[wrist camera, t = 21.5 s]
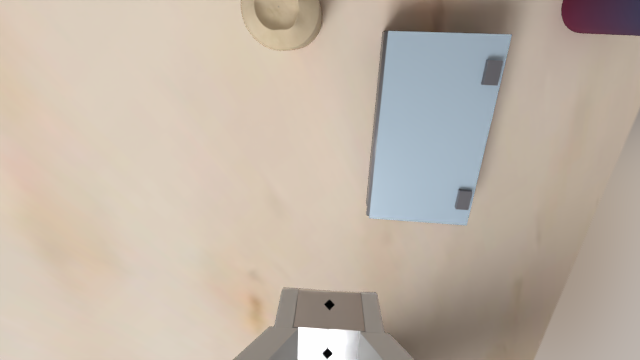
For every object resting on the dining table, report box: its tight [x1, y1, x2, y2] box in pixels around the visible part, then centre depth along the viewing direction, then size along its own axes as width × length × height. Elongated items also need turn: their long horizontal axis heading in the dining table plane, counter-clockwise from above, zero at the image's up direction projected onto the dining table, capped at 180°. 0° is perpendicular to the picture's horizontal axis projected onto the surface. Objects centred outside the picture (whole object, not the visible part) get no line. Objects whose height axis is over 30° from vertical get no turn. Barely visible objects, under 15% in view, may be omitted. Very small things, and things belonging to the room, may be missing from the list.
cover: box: [366, 31, 512, 225], centre depth 30 cm, size 18×10×2 cm, turn 178°
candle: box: [241, 0, 322, 51], centre depth 26 cm, size 6×6×10 cm
